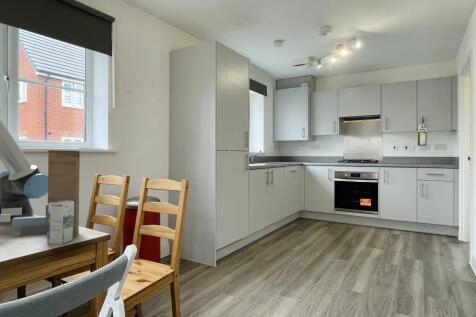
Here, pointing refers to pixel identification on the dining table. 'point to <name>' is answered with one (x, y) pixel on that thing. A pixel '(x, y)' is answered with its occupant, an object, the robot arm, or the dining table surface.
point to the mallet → (31, 220)
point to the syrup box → (60, 222)
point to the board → (33, 230)
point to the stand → (64, 180)
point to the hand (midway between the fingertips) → (16, 214)
